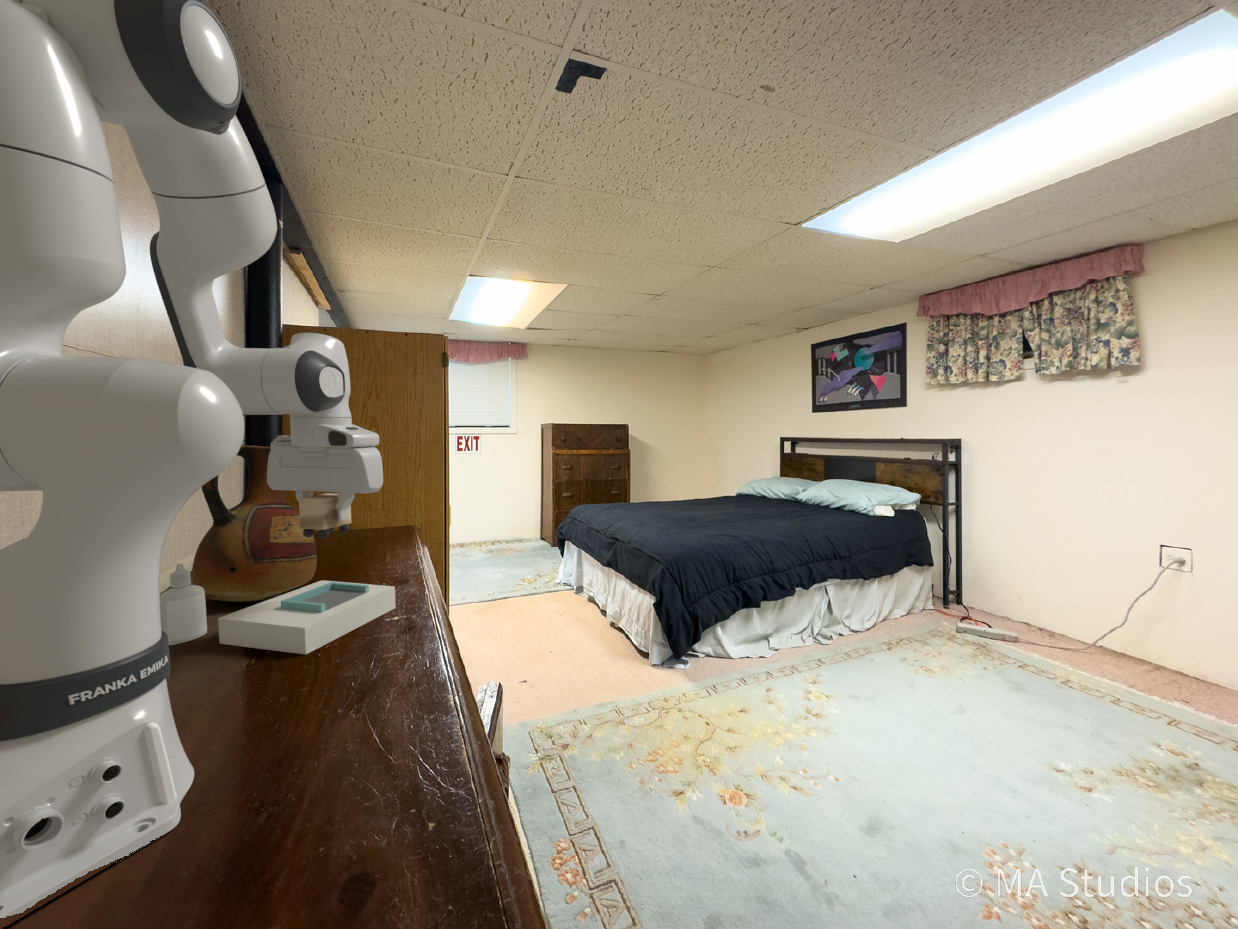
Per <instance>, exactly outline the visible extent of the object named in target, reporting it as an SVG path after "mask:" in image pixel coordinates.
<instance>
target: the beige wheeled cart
mask: <svg viewBox="0 0 1238 929" xmlns="http://www.w3.org/2000/svg"><path fill="white" fill-rule="evenodd" d="M340 500H341V499H338V495H337V493H332V492H326V493H321V494H316V495H313V496H309V497H303V498H299V502H298V508H299V509H298V510H299V511H298V513H299V514H300V529H304V531H303V535H304V536H305V537H307V538H309V537H312V536H314V534H315V530H316V531H317V530H318V533H317V534H318V535H317V536H318V537H319V538H320V539H327V538H329V536H330V533H332V532H333V531H334V530H335V528H338V531H339V532H340V533H341V534H346V533H348V532H349V531H350V526H349V524H352V506H351V505H352V504H351V505H350V507H349V508H348V514H349V516H348V518H347V519H343V520H338V519H334V518H333V515H334V514H333V509H336V508H338V505H339V503H340Z"/></svg>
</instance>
